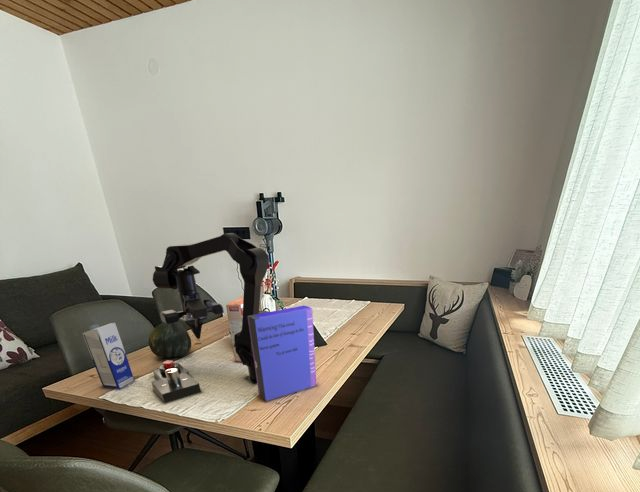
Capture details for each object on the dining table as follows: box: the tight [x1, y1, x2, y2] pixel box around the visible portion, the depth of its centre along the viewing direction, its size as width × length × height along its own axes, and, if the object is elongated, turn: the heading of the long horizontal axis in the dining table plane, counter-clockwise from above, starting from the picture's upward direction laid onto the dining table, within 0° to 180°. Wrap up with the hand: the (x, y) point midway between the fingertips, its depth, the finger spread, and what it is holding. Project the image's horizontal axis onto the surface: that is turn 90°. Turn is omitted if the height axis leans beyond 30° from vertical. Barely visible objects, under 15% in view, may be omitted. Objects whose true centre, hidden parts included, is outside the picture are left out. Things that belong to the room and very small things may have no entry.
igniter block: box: [152, 362, 190, 380], centre depth 121 cm, size 10×9×4 cm
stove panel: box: [150, 372, 202, 404], centre depth 111 cm, size 12×11×3 cm
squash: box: [148, 321, 192, 359], centre depth 137 cm, size 14×15×15 cm
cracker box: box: [225, 295, 244, 363], centre depth 132 cm, size 14×6×21 cm, turn 168°
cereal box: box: [247, 305, 318, 402], centre depth 103 cm, size 17×5×24 cm, turn 124°
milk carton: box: [81, 322, 135, 390], centre depth 113 cm, size 7×7×20 cm
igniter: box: [162, 360, 175, 368], centre depth 120 cm, size 3×3×2 cm
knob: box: [165, 368, 181, 385], centre depth 109 cm, size 4×4×4 cm
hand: (198, 338), depth 119 cm, fingers closed
